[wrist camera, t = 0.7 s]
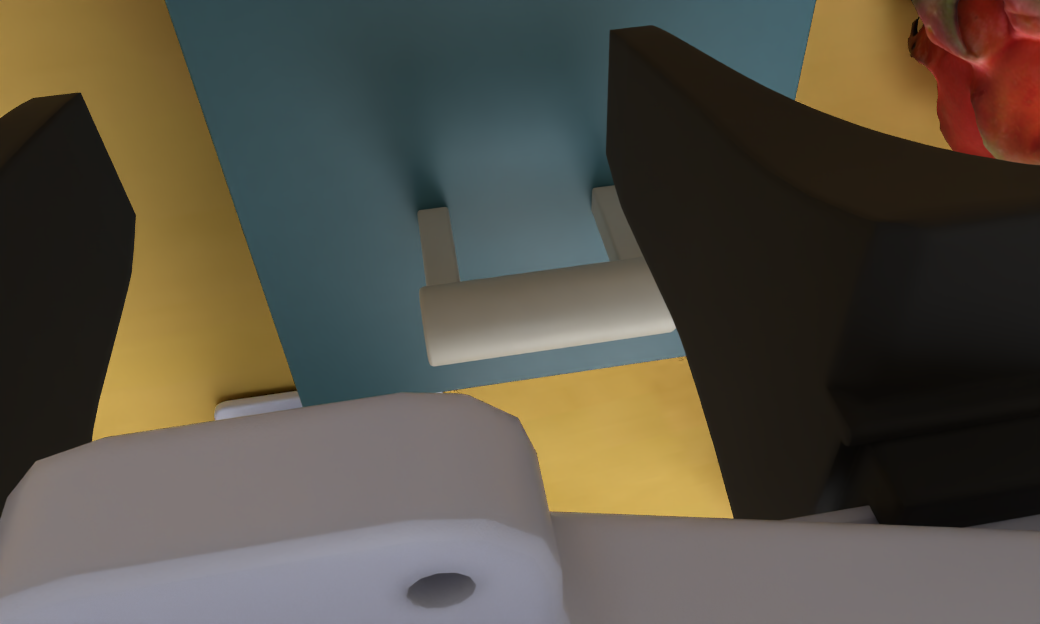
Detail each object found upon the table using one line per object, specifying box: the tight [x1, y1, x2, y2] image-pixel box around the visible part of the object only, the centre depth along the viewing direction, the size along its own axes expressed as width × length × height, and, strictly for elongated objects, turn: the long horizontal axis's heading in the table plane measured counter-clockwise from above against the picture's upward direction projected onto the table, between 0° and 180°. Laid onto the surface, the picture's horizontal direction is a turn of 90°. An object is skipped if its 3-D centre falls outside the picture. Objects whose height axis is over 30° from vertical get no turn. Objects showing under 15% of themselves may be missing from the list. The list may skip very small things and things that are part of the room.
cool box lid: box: [165, 0, 816, 407], centre depth 18 cm, size 13×12×5 cm
